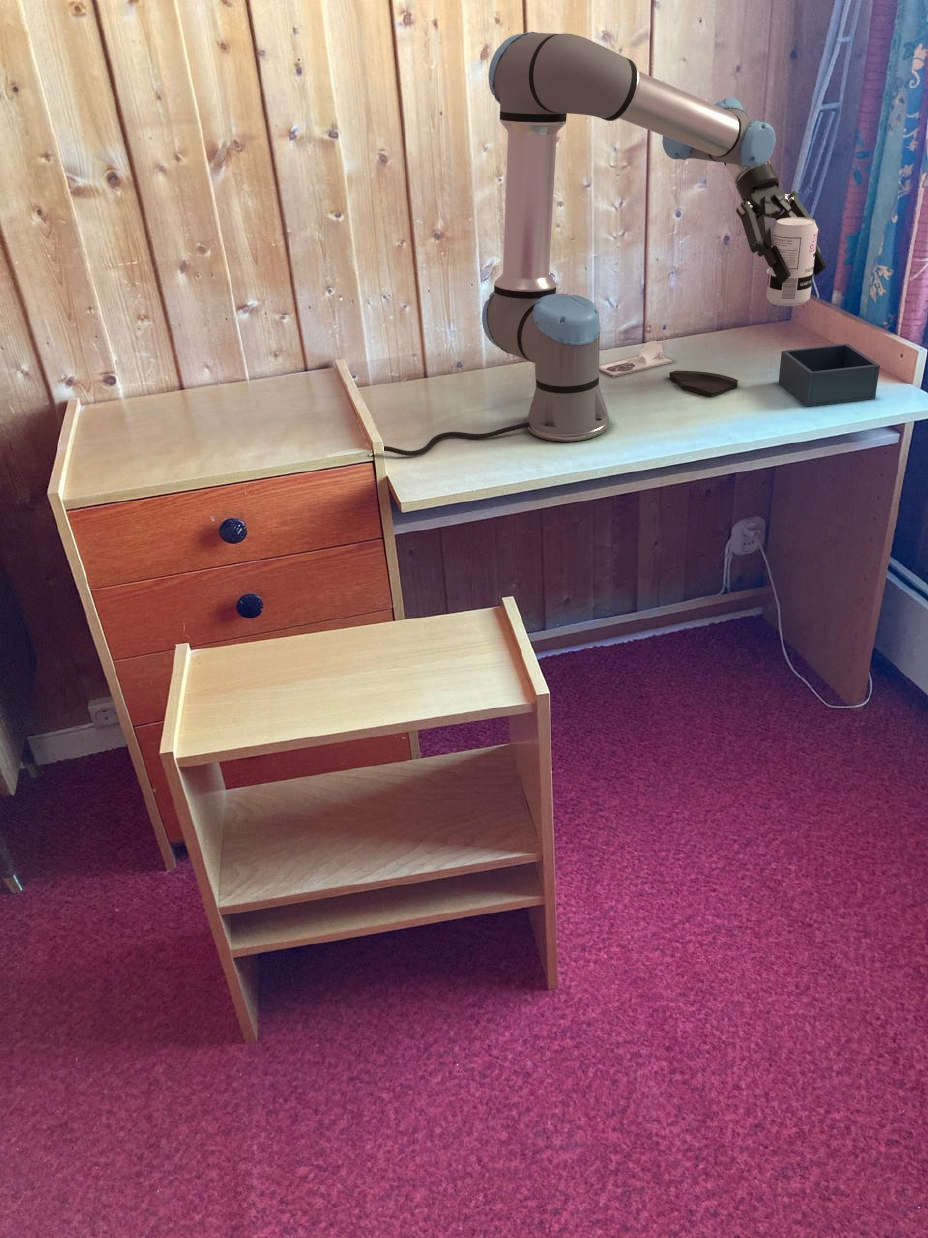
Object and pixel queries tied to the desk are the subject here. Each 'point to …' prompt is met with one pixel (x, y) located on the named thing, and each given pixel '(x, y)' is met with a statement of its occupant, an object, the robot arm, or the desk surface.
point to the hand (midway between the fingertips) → (803, 275)
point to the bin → (828, 375)
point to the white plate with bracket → (638, 361)
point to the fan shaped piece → (703, 382)
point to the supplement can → (793, 260)
